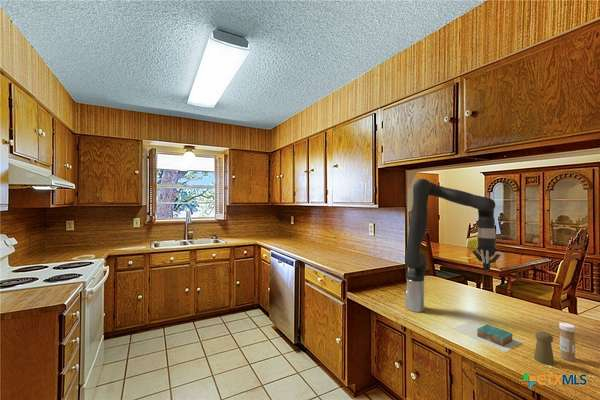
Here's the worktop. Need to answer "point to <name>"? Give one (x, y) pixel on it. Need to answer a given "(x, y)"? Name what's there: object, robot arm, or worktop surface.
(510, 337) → the teal and brown block
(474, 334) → the sage mat
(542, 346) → the brown rounded upright piece
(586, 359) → the worktop surface
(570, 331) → the sprinkles bottle
